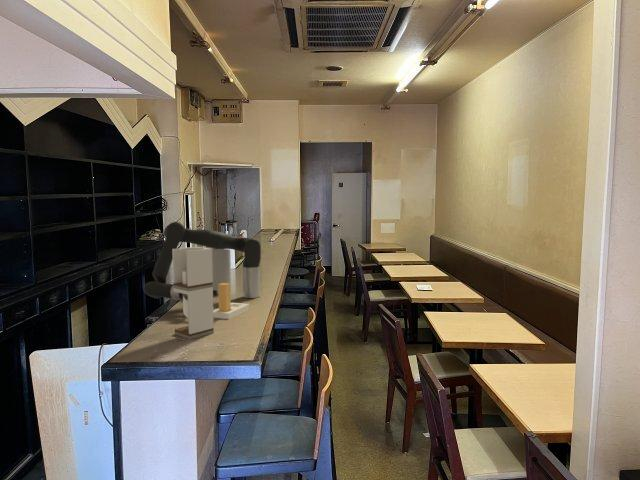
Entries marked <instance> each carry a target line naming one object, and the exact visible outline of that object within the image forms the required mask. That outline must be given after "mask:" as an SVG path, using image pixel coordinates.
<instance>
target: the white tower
mask: <svg viewBox="0 0 640 480" xmlns="http://www.w3.org/2000/svg"><path fill="white" fill-rule="evenodd" d="M212 250H213V248H211V247H203V246H201V247H200V246H191V247H189V246H188V247H182V248H181V247H180V248H176V249H172V256H173V259H172V280H173V281H172V284H173V291H174V292H178V293H183V300H182V308H183V310H182V312H183V315H184V316H185V317H186V318H187V319H188V320H187V322H188V323H187V324H188V326H187V325H186V326H183V327H179V328H175V329H174V335H176V336H179V337H182V338H185V339H187V340H193V339H196V338H201V337H203V336H206V335H210V334H214V333H215V332H214V331H215V330H214V328H215V327H214V326H215V325H214V318H213V310H214V295H213V273H212Z"/></svg>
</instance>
